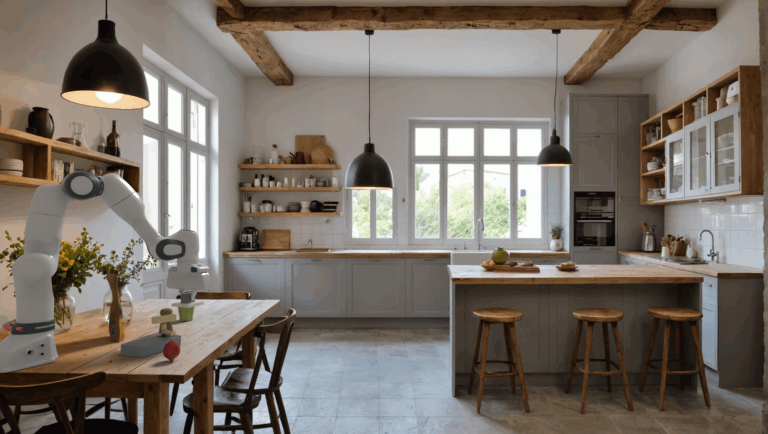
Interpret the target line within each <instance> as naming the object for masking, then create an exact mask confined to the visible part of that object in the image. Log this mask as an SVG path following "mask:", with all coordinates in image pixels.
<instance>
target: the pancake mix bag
mask: <svg viewBox="0 0 768 434" xmlns="http://www.w3.org/2000/svg"><path fill="white" fill-rule="evenodd" d="M105 277H106V280H107V283H108V286H109V288H110V291H111V294H112V296H111V297H112V300H111V304H110V309H109V314H108V316H109V317H108V333H109V337H110V341H111V342H113V343H120V342H122V341H125V337H126V336H125V335H126V329H125V328H126V327H125V320H124V314H123V307H122V302H121V299H120V294H119V289H118V281H119V280H118V279H119V277H118V275H116V274H114V273H110V272H108V273H107V274H106V275H105Z"/></svg>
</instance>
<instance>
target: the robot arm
mask: <svg viewBox="0 0 768 434" xmlns="http://www.w3.org/2000/svg"><path fill="white" fill-rule="evenodd" d="M32 196H33V197H32V199H31V201H30V205H29V209H28V212H27V213H28V214H27V218H26V222H25V227H24V232H23V236H24V244H23V245H24V246H23V248H24V249H23V254H22V255H20V256H19V257H17V258H16V259H15V260H14V263H12V267H11V275H12V280H13V288H14V294H15V304H16V305H15V306H16V307H15V309H16V310H15V322H14V324H13V325H12V324H5V325H3V329H4V331H8V332H10V333H9V334H8V335H7V336H6V337H5V338H3V339H2V340H1V341H0V374H4V373H10V372H11V373H12V372H15V371H20V370H25V369H28V368H33V367H37V366H42V365H46V364H52V363H54V362H56V360H57V359H58V357H59V353H58V351H57V347H56V340H55V330H56V318H55V314H54V312H55V296H54V292H53V284H52V283H53V282H52V277H53V276H54V275H55V273H56V272H57V270H58V266H59V260H60V253H61V252H60V249H61V239H62V234H63V227H64V223H65V219H66V213H67V208H68V207H69V205H70V203H71V202H72V201H80V202H81V201H87V200H90V199H93V198H99V199H100V200H102V201H103V202H104V203H105V204H106V206H108V207H109V208H110V210H111V211H112V212H113V213H115V215H117V216H118V217H119V218H120V219H121V220H123V221H124V222H126V223H127V224H128V225H129V226H130V227H132V229H133V230H134V231H135V232H136V233H137V234H138V236H139V237H140V238H141V239H142V240H143V242H144V244H145V245H146V249H147V250H146V251H147V253H148V254H149V256H150V257H151V258H152V259H154V260H157V261H164V262H170V261H173V260H176V266H171V267H170V268H168V271H167V273H168V274H167V277H166V287H167V289H170V290H171V289H172V290H174V289H175V290H178V293H179V295H180V296H181V294H182V293H185V290H187V291H189V290H190V292H192V295H191V296H189V300H192V301H193V300H195V301H196V296H197V293H198V291H200V292H202V291H203V292H204V291H208V290H210V288H211V277H210V274H209V272H210V267H209V266H208V265H206V264H203V263H201V262H200V257H199V252H200V238H199V233H197V231H195V230H191V229H184V228H182V229H181V228H180V229H179V230H178V231H177V232H174V233H173V234H170V235H168V236H166V237H165V236H163V235H161V234H160V233H159V232H158V231H157V229H155V227H154V226H153V225H152V223H150V222H149V220H148V218H147V216H146V213H145V209H146V207H145V203H144V201H143V199H142V198H141V196H139V194H138V193H137V192H136V190H135V189H134V188H133V187H132V186H131V185H130V184H129V183H128V182H127V181H126V180H125V179H124V178H123V177H121V176H120V175H118V174H117V173H114V172H113V173H111V172H110V173H106V174H104V175H102V176H97V175H96V174H93V173H90V172H88V171H83V170H76V171H75V170H74V171H72V172H70V173H68V174H67V175H66V176H65V177H64V178H63V179H62V180H61V182H59V183H58V184H55V183H46V184H42V185H39V186H38V187H37V188H36V190H35V191H34V194H33V195H32Z"/></svg>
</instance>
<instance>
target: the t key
mask: <svg viewBox="0 0 768 434" xmlns="http://www.w3.org/2000/svg"><path fill="white" fill-rule="evenodd" d="M170 321H172V322H176V321H177V314H175V313H172V314H170V315H163V316H161V315H158V316H152V317H151V324H153V325H157V324H158V325H160V323H162V325H161V335H166V334H167V335H170V336H172V335H177V334H176V331H174V330H173V331H169V330H166V322H170Z"/></svg>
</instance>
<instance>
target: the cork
mask: <svg viewBox="0 0 768 434" xmlns="http://www.w3.org/2000/svg"><path fill="white" fill-rule="evenodd" d="M170 314H174V313H173V309H172V308H170V307H167V308H166V307H165V308H162V309H160V310H159V316H163V315H170ZM161 325H162V323H159V327H158V334H159V333H161ZM173 327H174V326H173V321H170V322H166V330H169V331H173V332H174V328H173Z"/></svg>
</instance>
